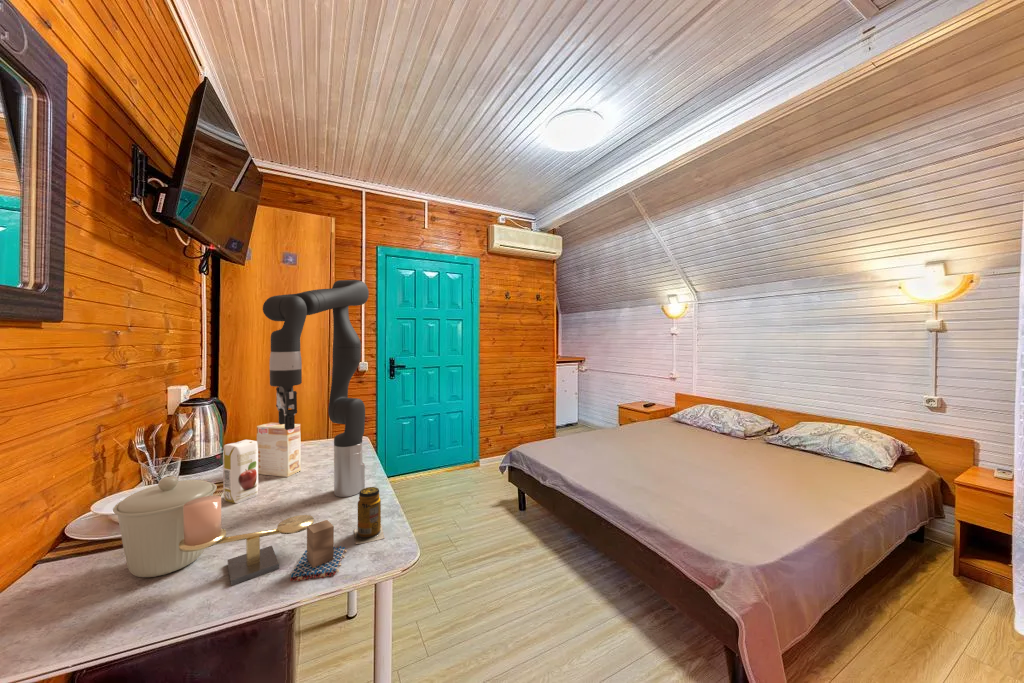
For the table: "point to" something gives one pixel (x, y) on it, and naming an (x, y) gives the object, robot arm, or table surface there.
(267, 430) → the coffeecake box
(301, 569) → the woven mat
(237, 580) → the balance
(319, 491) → the table surface
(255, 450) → the juice carton
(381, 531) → the condiment
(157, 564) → the canister
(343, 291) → the robot arm
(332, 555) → the block
